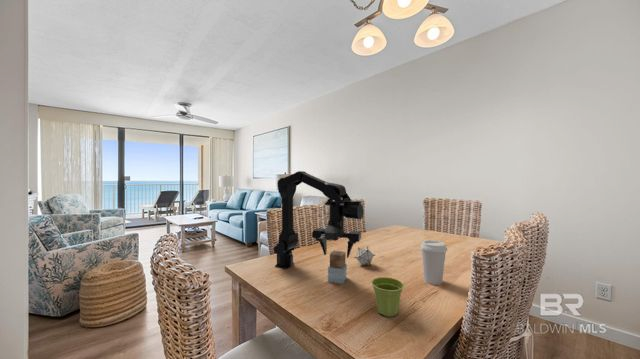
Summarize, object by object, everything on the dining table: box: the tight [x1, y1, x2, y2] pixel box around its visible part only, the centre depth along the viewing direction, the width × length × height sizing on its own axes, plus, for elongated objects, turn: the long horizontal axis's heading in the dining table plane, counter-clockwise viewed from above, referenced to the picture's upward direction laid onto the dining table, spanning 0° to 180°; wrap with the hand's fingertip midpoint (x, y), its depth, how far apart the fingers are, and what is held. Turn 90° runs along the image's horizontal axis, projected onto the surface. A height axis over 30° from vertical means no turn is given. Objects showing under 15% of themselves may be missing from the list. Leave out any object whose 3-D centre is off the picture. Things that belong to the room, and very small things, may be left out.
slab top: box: [327, 263, 348, 274], centre depth 100 cm, size 6×6×2 cm
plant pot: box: [371, 276, 405, 317], centre depth 77 cm, size 9×9×9 cm
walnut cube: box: [329, 250, 347, 269], centre depth 99 cm, size 5×5×5 cm
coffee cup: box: [419, 239, 448, 286], centre depth 98 cm, size 10×10×15 cm
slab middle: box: [327, 270, 347, 280], centre depth 100 cm, size 6×6×2 cm
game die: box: [353, 246, 376, 267], centre depth 115 cm, size 9×8×10 cm
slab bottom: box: [327, 275, 347, 285], centre depth 100 cm, size 6×6×2 cm
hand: (336, 256), depth 100 cm, fingers open, 9 cm apart
